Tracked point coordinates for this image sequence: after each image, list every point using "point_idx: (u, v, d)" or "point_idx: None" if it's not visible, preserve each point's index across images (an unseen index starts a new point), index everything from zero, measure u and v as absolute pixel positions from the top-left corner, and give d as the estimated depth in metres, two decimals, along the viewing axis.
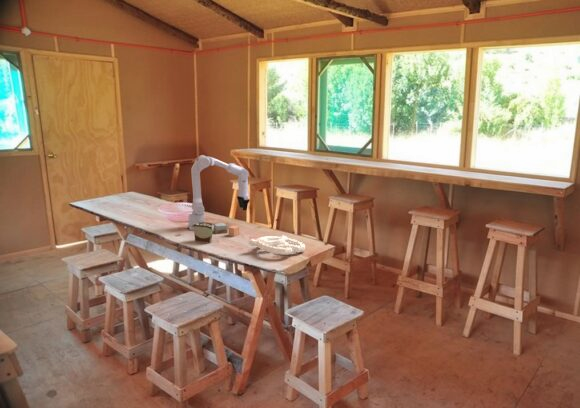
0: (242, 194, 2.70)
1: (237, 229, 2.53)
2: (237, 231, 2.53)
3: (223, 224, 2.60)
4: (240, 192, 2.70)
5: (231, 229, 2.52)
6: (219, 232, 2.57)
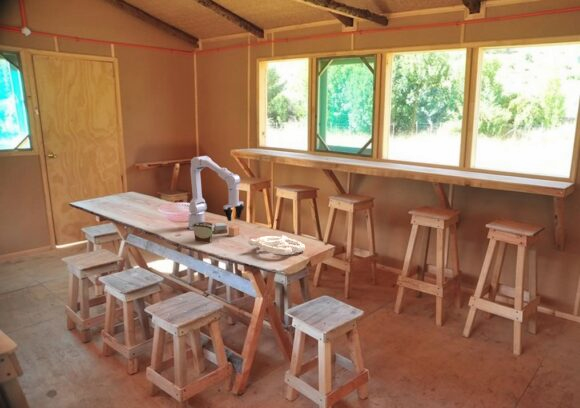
0: (229, 203, 2.49)
1: (237, 229, 2.53)
2: (237, 231, 2.53)
3: (223, 224, 2.60)
4: None
5: (231, 229, 2.52)
6: (219, 232, 2.57)
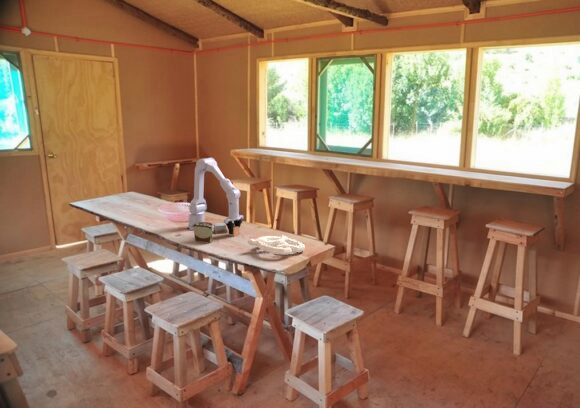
0: (229, 217, 2.50)
1: (237, 229, 2.53)
2: (237, 231, 2.53)
3: (222, 224, 2.60)
4: None
5: None
6: (219, 232, 2.57)
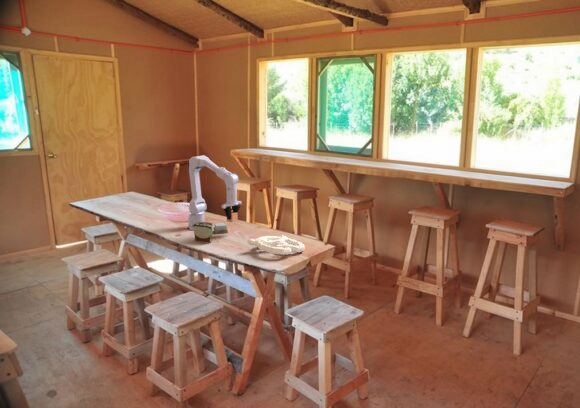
0: (227, 202, 2.49)
1: (235, 215, 2.52)
2: (236, 217, 2.52)
3: (223, 224, 2.60)
4: None
5: None
6: (219, 232, 2.57)
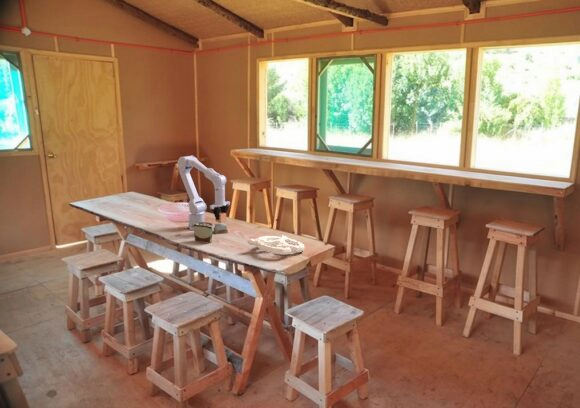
0: (215, 203, 2.55)
1: (224, 215, 2.57)
2: (224, 218, 2.58)
3: (223, 224, 2.60)
4: (215, 200, 2.56)
5: None
6: (219, 232, 2.57)
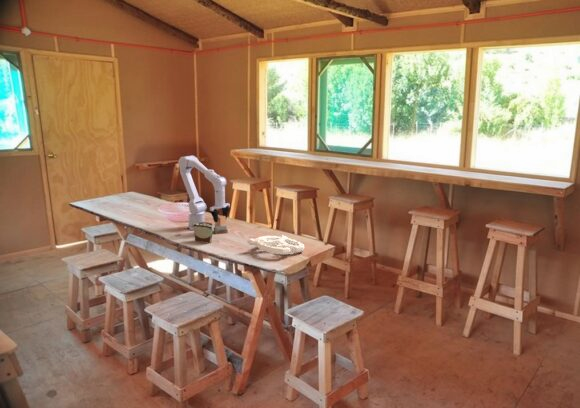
0: (215, 204, 2.55)
1: (223, 218, 2.58)
2: (224, 221, 2.58)
3: None
4: (215, 202, 2.56)
5: None
6: (219, 232, 2.57)
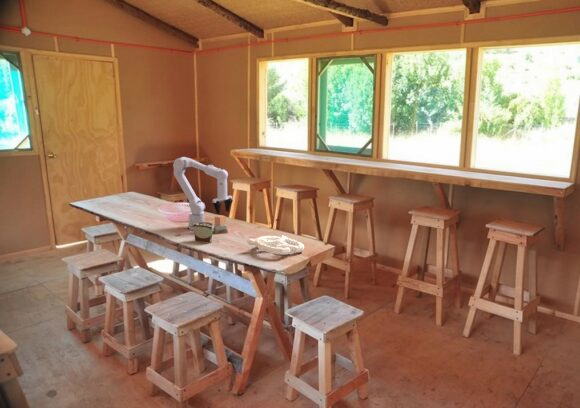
0: (218, 197, 2.60)
1: (223, 218, 2.58)
2: (223, 220, 2.58)
3: None
4: None
5: (217, 218, 2.56)
6: (219, 232, 2.56)
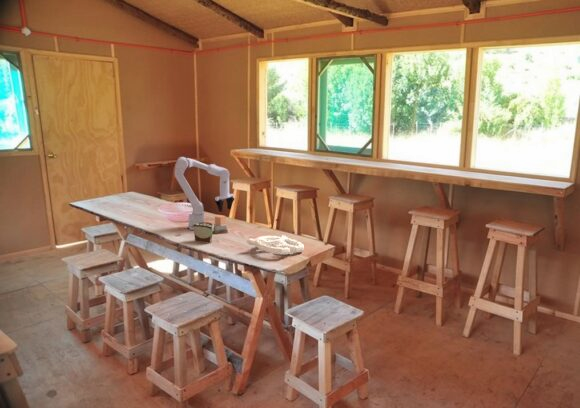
0: (220, 195, 2.65)
1: (223, 218, 2.58)
2: (224, 220, 2.59)
3: None
4: (220, 192, 2.66)
5: (217, 218, 2.57)
6: (219, 232, 2.56)
